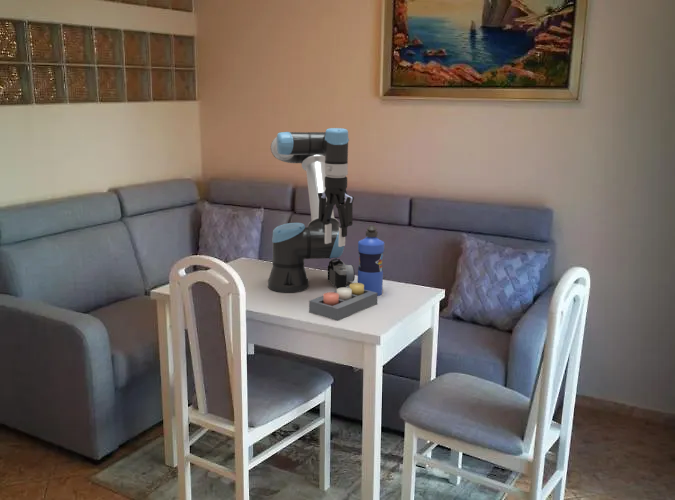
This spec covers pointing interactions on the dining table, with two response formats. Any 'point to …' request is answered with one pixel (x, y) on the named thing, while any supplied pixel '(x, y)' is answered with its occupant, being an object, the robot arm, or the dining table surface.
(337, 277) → the camera
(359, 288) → the ochre button
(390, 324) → the dining table surface
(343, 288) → the ivory button
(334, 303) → the coral button
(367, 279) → the water bottle
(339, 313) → the console
